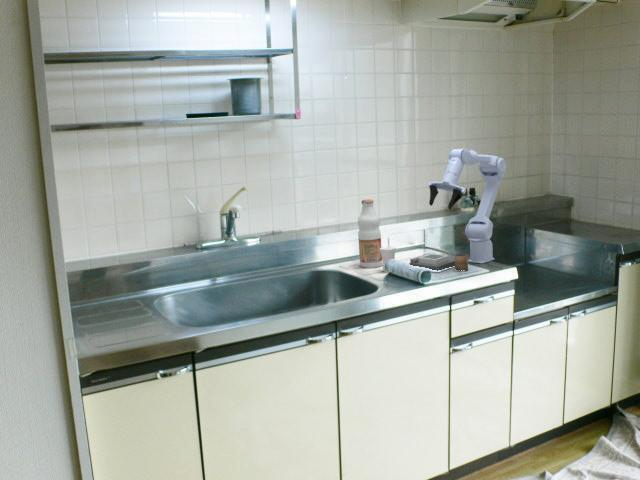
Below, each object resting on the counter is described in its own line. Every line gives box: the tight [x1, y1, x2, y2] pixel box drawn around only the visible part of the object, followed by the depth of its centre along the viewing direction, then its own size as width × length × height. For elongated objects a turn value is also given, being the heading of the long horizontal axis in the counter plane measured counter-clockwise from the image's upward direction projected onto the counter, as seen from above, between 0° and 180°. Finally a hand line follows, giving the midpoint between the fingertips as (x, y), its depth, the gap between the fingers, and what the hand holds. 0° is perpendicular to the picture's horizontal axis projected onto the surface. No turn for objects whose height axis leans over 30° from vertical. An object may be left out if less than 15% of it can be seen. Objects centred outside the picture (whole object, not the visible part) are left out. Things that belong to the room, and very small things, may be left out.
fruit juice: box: [357, 199, 383, 269], centre depth 287 cm, size 9×9×28 cm
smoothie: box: [380, 236, 397, 273], centre depth 276 cm, size 6×6×14 cm
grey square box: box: [408, 252, 455, 271], centre depth 278 cm, size 14×14×4 cm
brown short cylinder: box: [454, 252, 469, 272], centre depth 271 cm, size 5×5×6 cm
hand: (439, 206), depth 260 cm, fingers open, 7 cm apart
